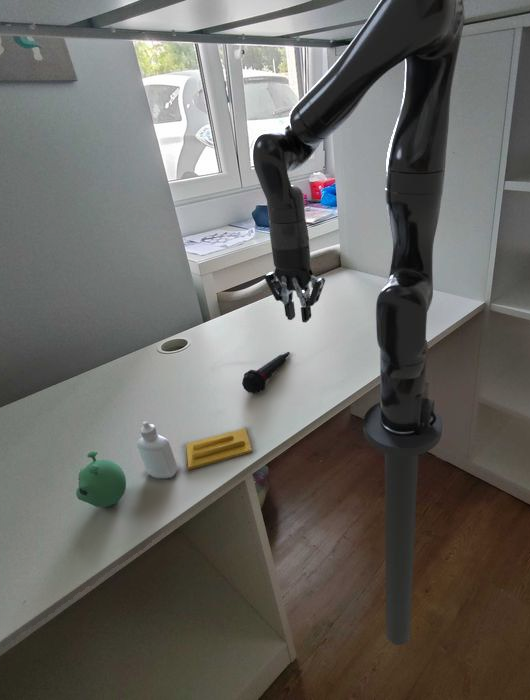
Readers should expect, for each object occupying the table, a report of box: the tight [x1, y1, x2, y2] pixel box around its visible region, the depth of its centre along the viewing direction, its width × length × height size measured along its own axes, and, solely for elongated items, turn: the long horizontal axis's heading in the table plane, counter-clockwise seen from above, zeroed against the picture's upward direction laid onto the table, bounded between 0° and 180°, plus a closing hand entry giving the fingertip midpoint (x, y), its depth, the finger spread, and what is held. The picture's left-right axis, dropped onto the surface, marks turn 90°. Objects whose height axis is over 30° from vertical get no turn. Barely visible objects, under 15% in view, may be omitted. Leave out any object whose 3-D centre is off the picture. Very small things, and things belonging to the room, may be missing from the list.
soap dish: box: [185, 427, 253, 470], centre depth 87 cm, size 12×7×2 cm, turn 110°
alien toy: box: [75, 450, 127, 508], centre depth 75 cm, size 7×8×10 cm
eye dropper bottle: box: [136, 420, 179, 479], centre depth 80 cm, size 4×6×12 cm
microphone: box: [241, 351, 290, 394], centre depth 109 cm, size 6×6×20 cm
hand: (298, 319), depth 97 cm, fingers open, 3 cm apart
